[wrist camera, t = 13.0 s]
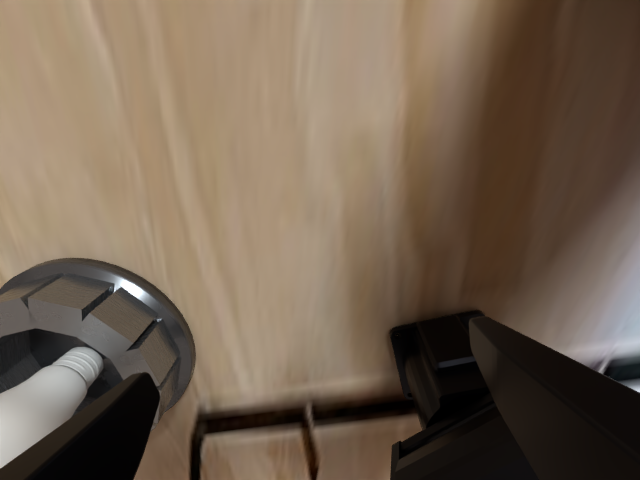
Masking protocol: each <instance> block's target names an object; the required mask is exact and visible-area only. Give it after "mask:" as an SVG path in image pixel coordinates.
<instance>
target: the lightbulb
mask: <svg viewBox="0 0 640 480" xmlns="http://www.w3.org/2000/svg"><path fill="white" fill-rule="evenodd" d="M102 369H103V359H102V357H101V356H100V355H99V354H98V353H97V352H96V351H95V350H93V349H91V348H88V347H75V348H72V349H71V350H69V351H68V352H67V353H65V354H64V355H63V356H62V357H60V358H59V359H58V360H57V361H56V362H54V363H53V364H52V365H49V366H46V367H44V368H42V369H41V370H39V371H38V372H37V373H35V374H34V375H33V376H32V377H30V378H29V379H27V380H26V381H24V382H23V383H21V384H19V385H18V386H15V387H13V388H11V389H9V390H7V391H5V392H2V393H0V468H2V467H3V466H5V465H6V464H7V463H9V462H10V461H12V460H13V459H14V458H16V457H17V456H19V455H20V454H21V453H23V452H24V451H25V450H27V449H28V448H30V447H31V446H32V445H34V444H35V443H37V442H38V441H39V440H41V439H42V438H44V437H45V436H46V435H48V434H49V433H51V432H52V431H53V430H55V429H56V428H58V427H59V426H60V425H62V424H63V423H65V422H66V421H67V420H69V419H70V418H71V417H72V415H73V414H74V412H75V410H76V408H77V407H78V406H79V405H80V403H81V402H82V401H83V399H84V398H85V396H86V394H87V389H88V388H89V386H90V385H91V384H92V383H93V381H94V380H95V379H96V378H97V376H98V375H99V374H100V372H101V371H102Z"/></svg>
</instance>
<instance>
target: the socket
mask: <svg viewBox="0 0 640 480" xmlns="http://www.w3.org/2000/svg"><path fill="white" fill-rule="evenodd" d="M75 347H88V348H91V349H93V350H95V351H96V352H97V353H98V354H99V355H100V356H101V357H102V359H103V369H102V371H101V372H100V374H99V375H98V376H97V378H96V379H95V380H94V381H93V383H92V384H91V385H90V386H89V388H88V389H87V394H86V396H85V398H84V399H83V401H82V402H81V403H80V405H79V406H78V407H77V408H76V410H75V412H74V414H73V415H72V417H73V416H74V415H76V414H77V413H78V412H80V411H81V410H83V409H84V408H85V407H87V406H88V405H90V404H91V403H92V402H94V401H95V400H97V399H98V398H99V397H101V396H102V395H104V394H105V393H106V392H108V391H109V390H111V389H112V388H113V387H115V386H116V385H118V384H119V383H120V382H122V381H123V380H125V379H126V378H127V377H129V376H130V375H132V374H135V373H140V372H148V373H149V374H150V375H151V377H152V379H153V381H154V383H155V384H156V386H157V388H158V390H159V392H160V402H159V406H158V409H157V412H156V415H155V419H154V422H153V425H152V428H151V431H152V430H153V429H154V428H155V427H156V426H157V424H158V422H159V420H160V418H161V416H162V415H163V413H164V412H166V411H167V410H168V409H170V408H171V407H172V406H173V405H174V404H175V403H176V402H177V401H178V400H179V399H180V397H181V396H182V394H183V393H184V391H185V389H186V387H187V385H188V383H189V381H190V379H191V377H192V374H193V371H194V367H195V358H196V353H195V344H194V341H193V337H192V334H191V331H190V329H189V326H188V324H187V322H186V321H185V319H184V317H183V316H182V314H181V313H180V311H179V310H178V309H177V307H176V306H175V305H174V304H173V303H172V301H171V300H170V299H169V298H168V297H167V296H166V295H165V294H164V293H162V292H161V291H160V290H159V289H158V288H156V287H155V286H154V285H152V284H151V283H150V282H148V281H147V280H145V279H144V278H142V277H140V276H138V275H136V274H134V273H133V272H131V271H129V270H126V269H124V268H121V267H119V266H116V265H113V264H110V263H106V262H103V261H98V260H92V259H84V258H63V259H56V260H51V261H47V262H44V263H41V264H38V265H36V266H34V267H32V268H30V269H28V270H26V271H24V272H22V273H20V274H19V275H17V276H15V277H13V278H12V279H11V280H9V281H8V282H7V283H5V284H4V285H3V287H2V288H1V289H0V393H2V392H5V391H7V390H9V389H11V388H13V387H15V386H18V385H19V384H21V383H23V382H24V381H26V380H27V379H29V378H30V377H32V376H33V375H34V374H35V373H37V372H38V371H39V370H41V369H42V368H44V367H46V366H49V365H52V364H53V363H54V362H56V361H57V360H58V359H59V358H60V357H62V356H63V355H64V354H65V353H67V352H68V351H69V350H71V349H72V348H75ZM72 417H71V418H72ZM151 431H150V432H151Z"/></svg>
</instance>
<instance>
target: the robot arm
mask: <svg viewBox="0 0 640 480" xmlns="http://www.w3.org/2000/svg"><path fill="white" fill-rule="evenodd" d="M397 333H399V335H398V336H395V334H397ZM390 338H391V342H392V347H393V351H394V355H395V359H396V364H397V368H398V372H399V376H400V381H401V385H402V389H403V393H404V396H405V398H406V399H409V400H412V399H413V401H414V404H415V407H416V411H417V414H418V417H419V421H420V424H421V427H422V431H421V432H419V433H417V434H415V435H414V436H412V437H410V438H408V439H406V440H405V441H403V442H401V441H399V442H397V443H395V444H394V445H392V456H391V478H390V480H640V393H639V392H637V391H635V390H633V389H631V388H629V387H627V386H625V385H623V384H621V383H619V382H617V381H615V380H613V379H611V378H609V377H607V376H605V375H603V374H601V373H599V372H597V371H595V370H593V369H591V368H589V367H587V366H585V365H583V364H581V363H579V362H577V361H575V360H573V359H571V358H569V357H567V356H565V355H563V354H561V353H559V352H557V351H555V350H553V349H551V348H549V347H547V346H545V345H543V344H541V343H539V342H537V341H535V340H533V339H531V338H529V337H527V336H525V335H523V334H521V333H519V332H517V331H515V330H513V329H511V328H509V327H507V326H505V325H503V324H501V323H499V322H497V321H495V320H493V319H491V318H489V317H487V316H485V315H484V313H483V312H482V311H480V310H474V311H470V312H465V313H460V314H455V315H450V316H445V317H441V318H436V319H431V320H426V321H422V322H417V323H412V324H408V325H403V326H398V327H394V328H392V329H391V330H390ZM409 392H411V393H409ZM159 402H160V392H159V390H158V388H157V386H156V384H155V383H154V381H153V379H152V377H151V375H150V374H149V373H148V372H140V373H135V374H132V375H130V376H129V377H127V378H126V379H125V380H123V381H122V382H120V383H119V384H118V385H116V386H115V387H113V388H112V389H111V390H109V391H108V392H106V393H105V394H104V395H102V396H101V397H99V398H98V399H97V400H95V401H94V402H92V403H91V404H90V405H88V406H87V407H85V408H84V409H83V410H81V411H80V412H78V413H77V414H76V415H74V416H73V417H72V418H70V419H69V420H67V421H66V422H65V423H63V424H62V425H60V426H59V427H58V428H56V429H55V430H53V431H52V432H51V433H49V434H48V435H46V436H45V437H44V438H42V439H41V440H39V441H38V442H37V443H35V444H34V445H32V446H31V447H30V448H28V449H27V450H25V451H24V452H23V453H21V454H20V455H19V456H17V457H16V458H14V459H13V460H12V461H10V462H9V463H7V464H6V465H5V466H3V467H2V468H0V480H133V479H134V477H135V474H136V472H137V469H138V467H139V464H140V462H141V459H142V456H143V453H144V450H145V447H146V444H147V441H148V438H149V435H150V431H151V428H152V425H153V422H154V419H155V415H156V412H157V409H158V406H159Z"/></svg>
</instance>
